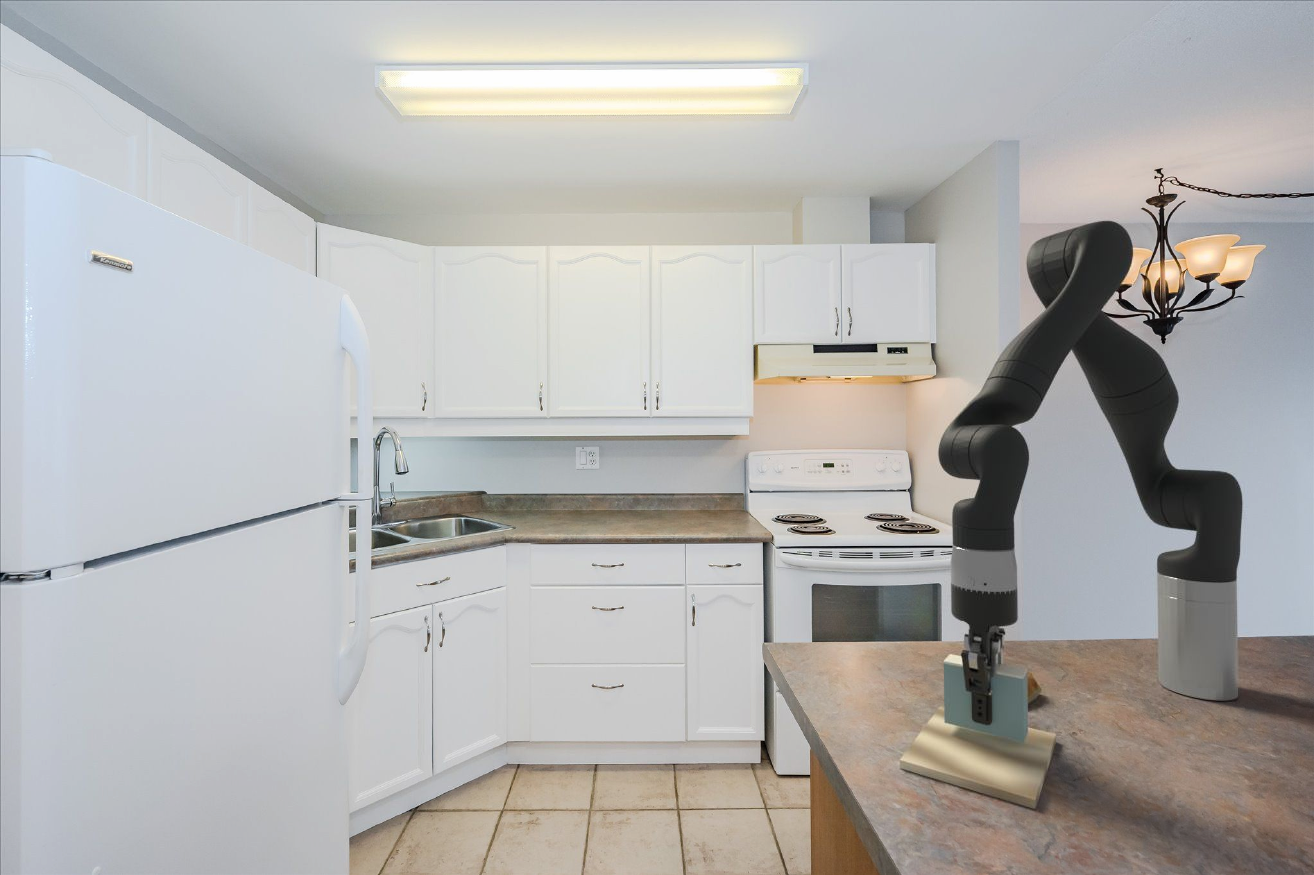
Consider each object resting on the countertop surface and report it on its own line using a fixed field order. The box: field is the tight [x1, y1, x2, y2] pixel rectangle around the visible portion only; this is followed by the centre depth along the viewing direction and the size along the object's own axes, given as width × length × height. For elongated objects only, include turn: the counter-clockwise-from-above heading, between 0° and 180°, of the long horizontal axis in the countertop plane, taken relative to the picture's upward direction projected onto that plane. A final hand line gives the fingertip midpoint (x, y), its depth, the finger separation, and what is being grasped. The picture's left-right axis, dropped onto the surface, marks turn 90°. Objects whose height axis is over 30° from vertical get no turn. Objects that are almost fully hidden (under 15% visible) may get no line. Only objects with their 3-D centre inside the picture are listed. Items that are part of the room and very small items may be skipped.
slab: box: [943, 653, 1029, 742], centre depth 81 cm, size 3×9×8 cm, turn 52°
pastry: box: [1015, 665, 1042, 705], centre depth 95 cm, size 9×7×4 cm
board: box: [899, 706, 1057, 810], centre depth 79 cm, size 18×14×1 cm
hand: (985, 716), depth 81 cm, fingers closed on slab, 3 cm apart
